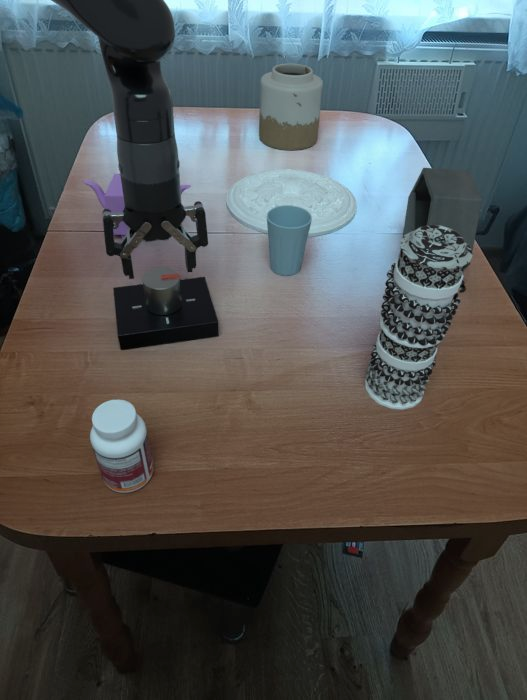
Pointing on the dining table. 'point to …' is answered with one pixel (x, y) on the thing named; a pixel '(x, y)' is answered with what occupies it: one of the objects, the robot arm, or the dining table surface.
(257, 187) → the ceiling medallion
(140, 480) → the pill bottle
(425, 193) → the planter
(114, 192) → the teapot
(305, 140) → the vase
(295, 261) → the cup
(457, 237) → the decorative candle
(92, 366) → the dining table surface
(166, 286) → the hob knob
